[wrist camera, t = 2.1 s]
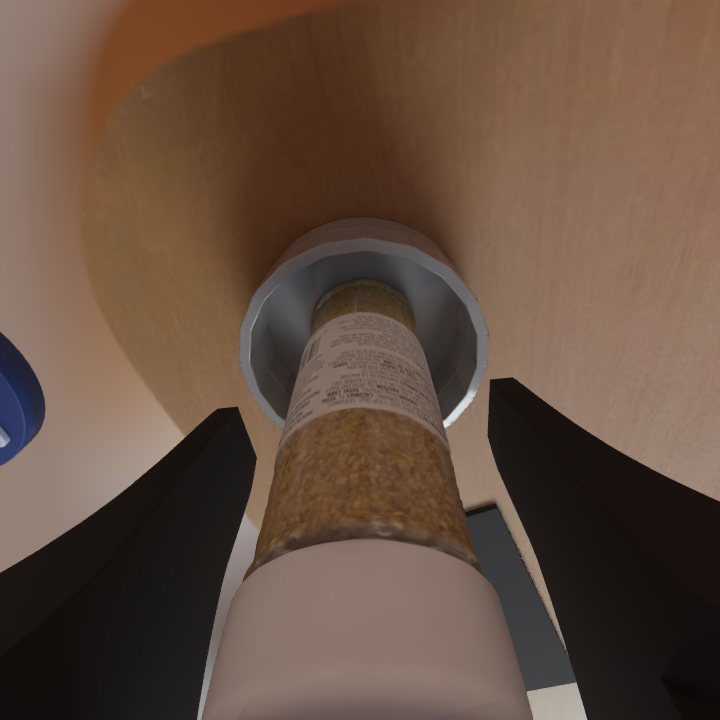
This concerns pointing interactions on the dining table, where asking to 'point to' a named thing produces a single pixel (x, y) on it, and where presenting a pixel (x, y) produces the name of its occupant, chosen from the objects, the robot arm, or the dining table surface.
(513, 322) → the dining table surface
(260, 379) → the basin
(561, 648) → the mat
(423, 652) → the sprinkles bottle
